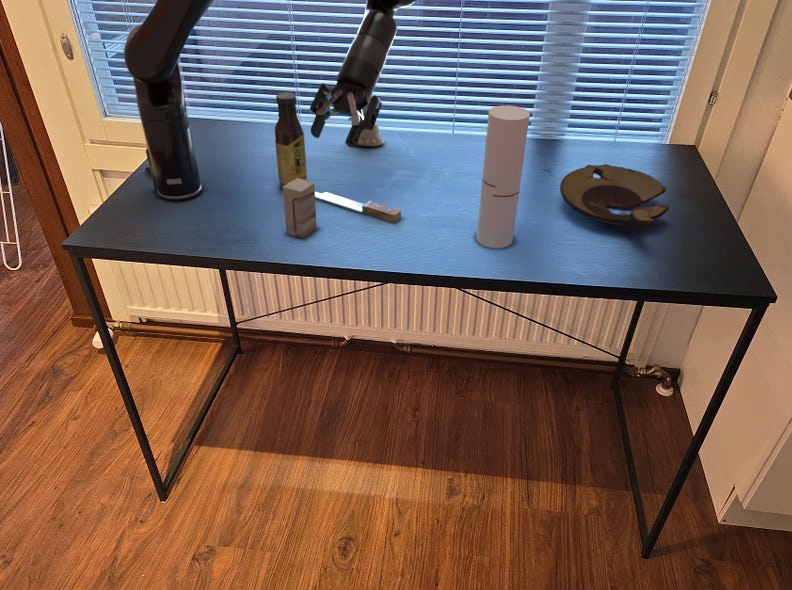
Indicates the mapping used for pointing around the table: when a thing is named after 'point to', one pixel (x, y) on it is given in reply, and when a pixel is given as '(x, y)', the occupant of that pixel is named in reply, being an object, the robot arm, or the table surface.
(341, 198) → the knife
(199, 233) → the table surface
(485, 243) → the cylindrical container
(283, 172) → the sauce bottle
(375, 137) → the figurine
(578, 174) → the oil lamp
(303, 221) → the tan rectangular box
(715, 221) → the table surface
